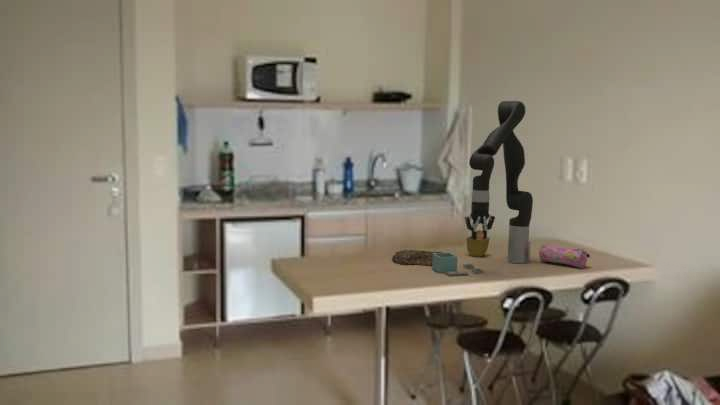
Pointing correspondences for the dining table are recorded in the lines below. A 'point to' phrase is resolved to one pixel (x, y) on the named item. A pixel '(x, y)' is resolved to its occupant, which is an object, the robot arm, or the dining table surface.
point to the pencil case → (564, 255)
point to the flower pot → (477, 246)
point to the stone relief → (413, 257)
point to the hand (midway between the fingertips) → (479, 239)
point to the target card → (456, 273)
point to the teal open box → (444, 262)
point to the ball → (479, 234)
